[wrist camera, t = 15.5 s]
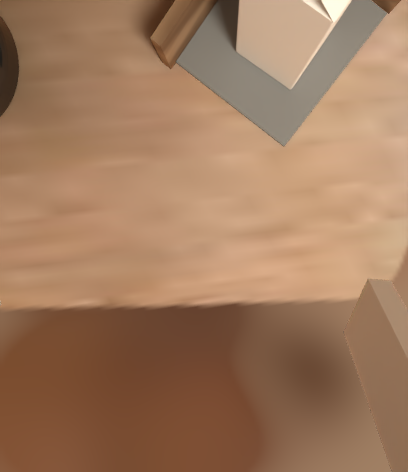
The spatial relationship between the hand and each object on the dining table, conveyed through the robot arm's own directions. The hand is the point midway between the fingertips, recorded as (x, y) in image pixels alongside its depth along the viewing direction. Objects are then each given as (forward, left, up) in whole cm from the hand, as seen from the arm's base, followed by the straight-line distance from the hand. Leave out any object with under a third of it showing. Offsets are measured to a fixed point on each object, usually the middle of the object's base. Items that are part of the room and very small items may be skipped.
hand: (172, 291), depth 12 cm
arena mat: (-6, +19, -27) cm, 34 cm away
